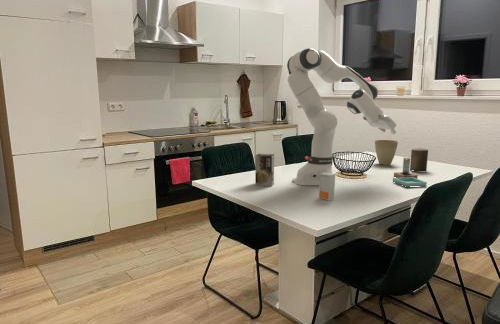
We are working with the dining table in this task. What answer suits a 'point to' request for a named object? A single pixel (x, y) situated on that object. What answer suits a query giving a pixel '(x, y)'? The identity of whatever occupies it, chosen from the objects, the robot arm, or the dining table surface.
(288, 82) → the robot arm
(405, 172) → the metal peg
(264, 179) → the coffee box
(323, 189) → the skincare box
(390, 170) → the dining table surface
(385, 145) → the plant pot
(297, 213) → the dining table surface
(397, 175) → the walnut collar
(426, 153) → the pillar candle
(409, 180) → the teal tray
